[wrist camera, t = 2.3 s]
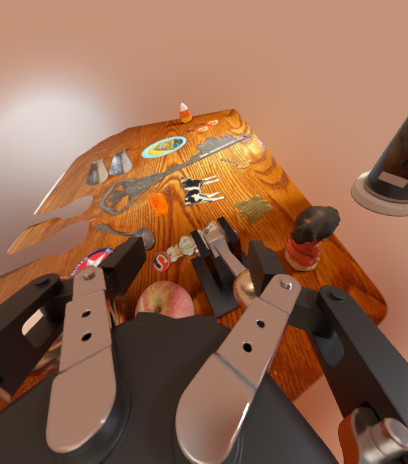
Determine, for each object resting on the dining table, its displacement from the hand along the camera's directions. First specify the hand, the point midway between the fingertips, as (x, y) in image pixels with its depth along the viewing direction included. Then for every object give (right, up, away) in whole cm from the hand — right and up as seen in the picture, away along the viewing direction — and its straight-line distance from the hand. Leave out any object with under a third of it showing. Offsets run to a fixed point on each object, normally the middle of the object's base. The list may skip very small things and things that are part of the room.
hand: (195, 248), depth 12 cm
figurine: (+18, -4, +18) cm, 26 cm away
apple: (-4, -14, +17) cm, 23 cm away
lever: (+4, -3, +6) cm, 8 cm away
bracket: (+5, -7, +19) cm, 21 cm away
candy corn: (-8, +58, +71) cm, 92 cm away
